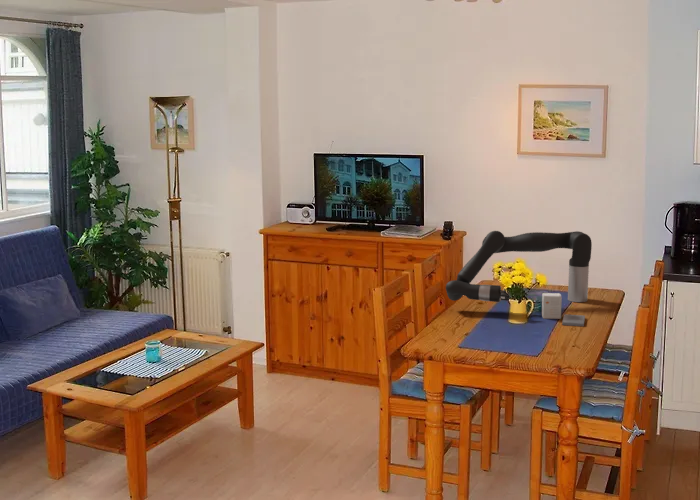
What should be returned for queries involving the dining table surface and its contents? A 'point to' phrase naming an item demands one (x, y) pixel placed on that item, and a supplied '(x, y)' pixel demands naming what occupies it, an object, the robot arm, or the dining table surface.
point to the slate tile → (573, 320)
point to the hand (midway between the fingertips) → (525, 295)
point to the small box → (551, 305)
